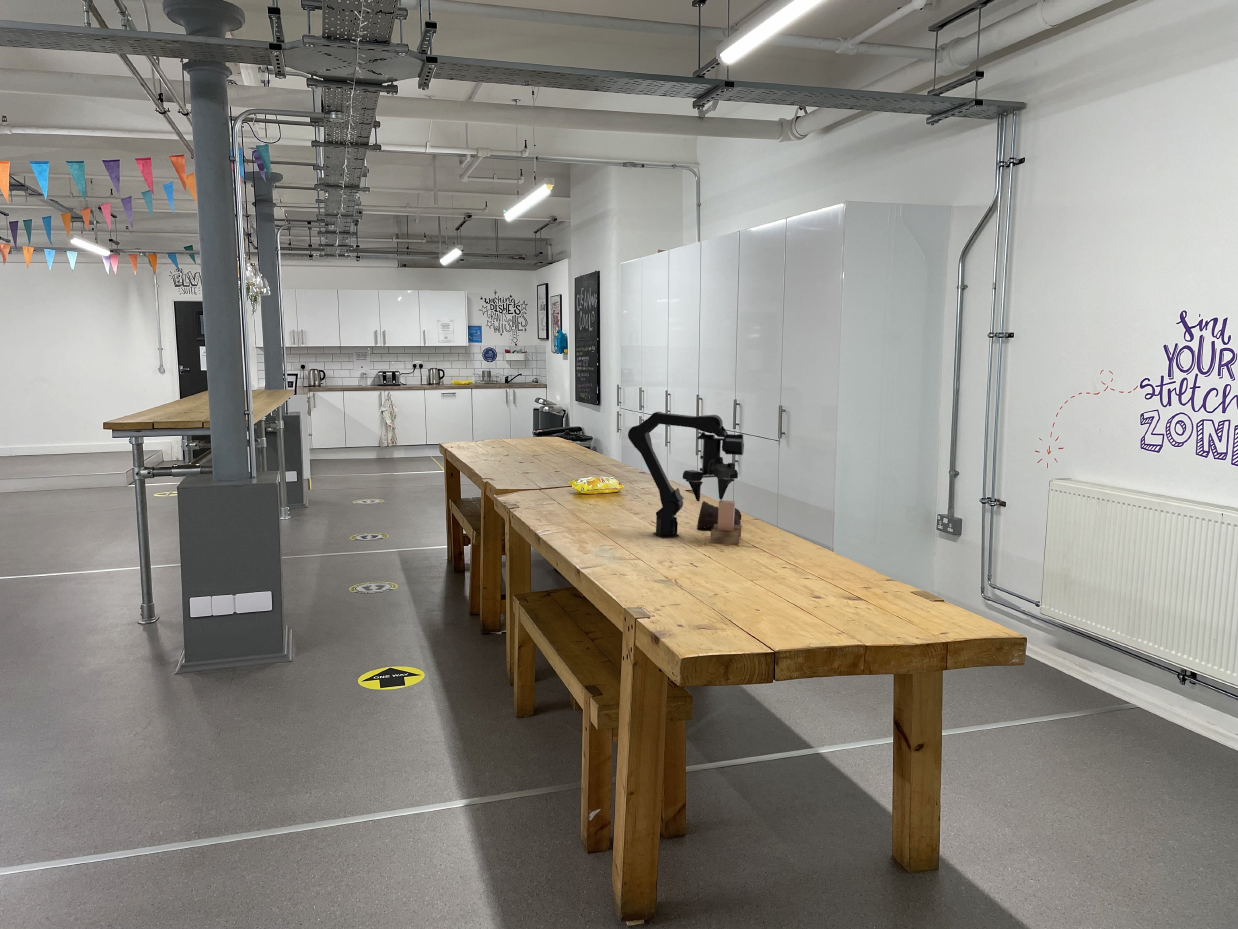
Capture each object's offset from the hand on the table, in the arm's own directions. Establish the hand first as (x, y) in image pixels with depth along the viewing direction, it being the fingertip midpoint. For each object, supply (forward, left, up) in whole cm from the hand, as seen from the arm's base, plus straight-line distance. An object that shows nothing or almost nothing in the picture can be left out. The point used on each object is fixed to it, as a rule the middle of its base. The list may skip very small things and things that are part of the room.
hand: (709, 500), depth 284 cm
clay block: (+5, -3, -12) cm, 13 cm away
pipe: (+15, +14, -13) cm, 25 cm away
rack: (+5, -3, -13) cm, 14 cm away
